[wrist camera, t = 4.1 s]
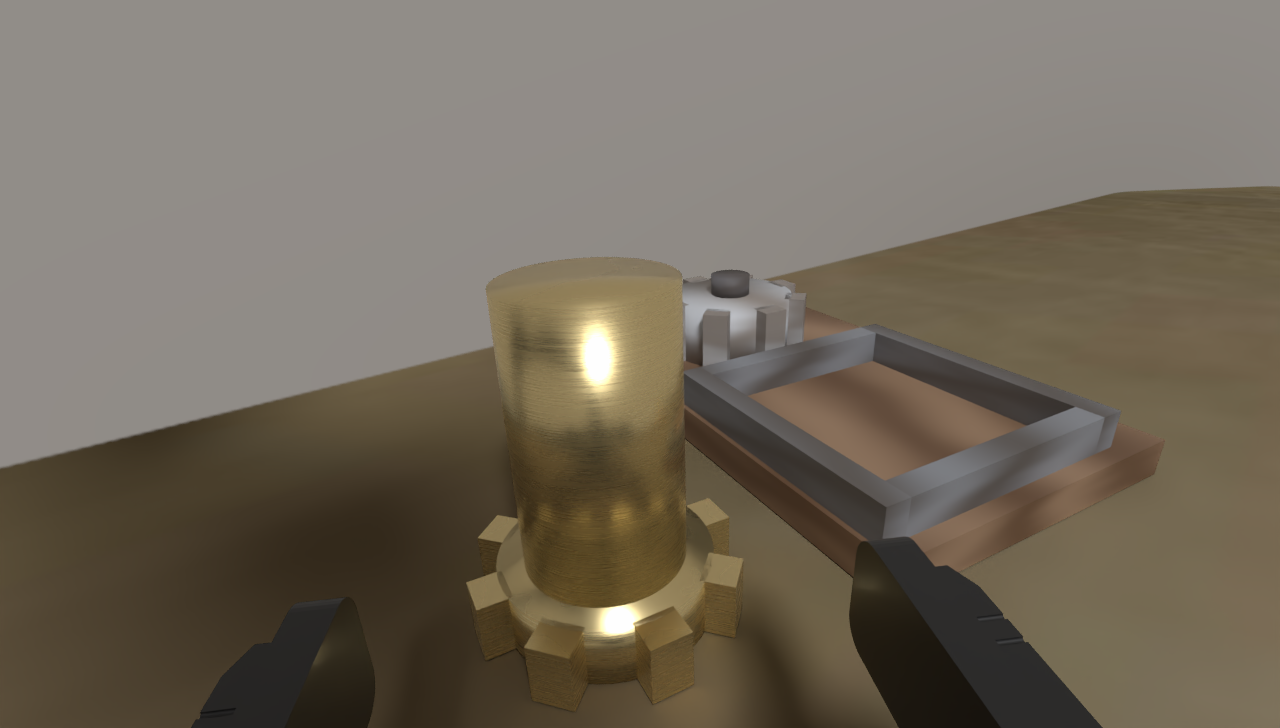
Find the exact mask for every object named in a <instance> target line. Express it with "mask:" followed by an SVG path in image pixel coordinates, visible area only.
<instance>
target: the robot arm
mask: <svg viewBox="0 0 1280 728" xmlns="http://www.w3.org/2000/svg"><path fill="white" fill-rule="evenodd" d="M849 620H850V628H851V633H852V637H853V641H854V643H855V646H856V649H857V651H858V653H859V655H860V657H861V659H862V661H863V663H864V664H865V666H866V668H867V670H868V672H869V674H870V675H871V677H872V679H873V681H874V683H875V685H876V687H877V688H878V690H879V692H880V694H881V696H882V698H883V699H884V701H885V703H886V705H887V707H888V709H889V710H890V712H891V714H892V716H893V718H894V720H895V721H896V723H897V725H898V727H899V728H1102V727H1101V725H1100V724H1099V723H1098V722H1097V721H1096V720H1095V719H1094V717H1093V716H1092V715H1091V714H1090V713H1089V712H1088V711H1087V709H1086V708H1085V707H1084V706H1083V705H1082V704H1081V703H1080V701H1079V700H1078V699H1077V698H1076V697H1075V696H1074V695H1073V693H1072V692H1071V691H1070V690H1069V689H1068V688H1067V687H1066V685H1065V684H1064V683H1063V682H1062V681H1061V680H1060V678H1059V677H1058V676H1057V675H1056V674H1055V673H1054V672H1053V670H1052V669H1051V668H1050V667H1049V666H1048V665H1047V664H1046V662H1045V661H1044V660H1043V659H1042V658H1041V657H1040V656H1039V654H1038V653H1037V652H1036V651H1035V650H1034V649H1033V648H1032V646H1031V645H1030V644H1029V643H1028V642H1026V643H1025V642H1024V640H1023V636H1022V635H1021V634H1020V633H1019V631H1018V630H1017V629H1016V628H1015V627H1014V626H1013V625H1012V623H1011V622H1010V621H1009V620H1008V619H1004V617H1003V613H1002V612H1001V611H1000V610H999V609H998V607H997V606H996V605H995V604H994V603H993V602H992V601H991V599H990V598H989V597H988V596H987V595H986V594H985V593H984V591H983V590H982V589H981V588H980V587H979V586H978V585H976V584H975V583H973V582H972V581H970V580H969V579H967V578H966V577H964V576H963V575H961V574H960V573H958V572H957V571H955V570H954V569H952V568H951V567H949V566H948V565H944V566H936V567H935V566H934V564H933V563H932V562H931V561H930V560H929V558H928V557H927V556H926V555H925V553H924V552H923V551H922V550H921V549H920V547H919V546H918V545H917V544H916V543H915V541H914V540H912V539H911V538H909V537H906V536H904V537H895V538H886V539H877V540H868V541H862V542H861V543H860V544H859V545H858V548H857V552H856V560H855V568H854V577H853V585H852V594H851V602H850V611H849ZM374 695H375V677H374V670H373V666H372V662H371V658H370V655H369V651H368V648H367V644H366V641H365V637H364V633H363V630H362V626H361V623H360V619H359V616H358V612H357V608H356V606H355V603H354V601H353V600H352V599H351V598H349V597H345V598H336V599H327V600H318V601H309V602H300V603H296V604H295V605H293V606H292V607H291V608H290V610H289V611H288V613H287V615H286V617H285V619H284V620H283V622H282V624H281V626H280V628H279V630H278V632H277V633H276V635H275V637H274V639H273V641H272V643H263V644H255V645H254V646H253V647H252V648H251V649H250V650H248V651H247V652H246V653H245V654H244V655H243V656H242V657H241V658H240V659H239V660H238V661H237V662H236V663H235V664H234V665H233V666H232V667H231V668H230V669H229V670H228V671H227V672H226V673H225V674H224V675H223V676H222V677H221V678H220V680H219V682H218V683H217V685H216V687H215V688H214V690H213V692H212V693H211V695H210V697H209V699H208V700H207V702H206V704H205V705H204V707H203V709H202V710H201V712H200V713H201V715H200V719H197V720H195V722H194V724H193V725H192V727H191V728H367V727H368V723H369V720H370V717H371V713H372V709H373V703H374Z"/></svg>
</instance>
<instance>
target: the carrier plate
mask: <svg viewBox="0 0 1280 728" xmlns="http://www.w3.org/2000/svg"><path fill="white" fill-rule="evenodd" d="M682 295H683V359H684V423H685V438H686V439H687V440H688V441H689V442H690V443H692V444H693V445H694V446H695V447H696V448H698V449H699V450H700V451H701V452H702V453H704V454H705V455H706V456H707V457H708V458H710V459H711V460H712V461H713V462H715V463H716V464H717V465H718V466H719V467H721V468H722V469H723V470H724V471H725V472H727V473H728V474H729V475H730V476H731V477H733V478H734V479H735V480H736V481H737V482H739V483H740V484H741V485H742V486H744V487H745V488H746V489H747V490H748V491H750V492H751V493H752V494H753V495H754V496H756V497H757V498H758V499H759V500H760V501H762V502H763V503H764V504H765V505H766V506H768V507H769V508H770V509H771V510H773V511H774V512H775V513H776V514H777V515H779V516H780V517H781V518H782V519H783V520H785V521H786V522H787V523H788V524H789V525H791V526H792V527H793V528H794V529H795V530H797V531H798V532H799V533H800V534H802V535H803V536H804V537H805V538H806V539H808V540H809V541H810V542H811V543H812V544H814V545H815V546H816V547H817V548H818V549H820V550H821V551H822V552H823V553H824V554H826V555H827V556H828V557H829V558H831V559H832V560H833V561H834V562H835V563H837V564H838V565H839V566H840V567H841V568H843V569H844V570H845V571H846V572H847V573H849V574H850V575H851V576H852V577H854V568H855V560H856V552H857V548H858V545H859V544H860V543H861V542H862V541H868V540H877V539H886V538H895V537H904V536H906V537H909V538H911V539H912V540H914V541H915V543H916V544H917V545H918V546H919V547H920V549H921V550H922V551H923V552H924V553H925V555H926V556H927V557H928V558H929V560H930V561H931V562H932V563H933V564H934V566H935V567H936V566H944V565H948V566H949V567H951V568H952V569H954V570H955V571H957V572H960V571H962V570H964V569H966V568H968V567H970V566H972V565H974V564H976V563H978V562H980V561H982V560H984V559H986V558H988V557H990V556H992V555H994V554H996V553H998V552H1000V551H1002V550H1004V549H1006V548H1008V547H1010V546H1012V545H1014V544H1016V543H1018V542H1020V541H1022V540H1024V539H1026V538H1028V537H1030V536H1031V535H1033V534H1035V533H1037V532H1039V531H1041V530H1043V529H1045V528H1047V527H1049V526H1051V525H1053V524H1055V523H1057V522H1059V521H1061V520H1063V519H1065V518H1067V517H1069V516H1071V515H1073V514H1075V513H1077V512H1079V511H1081V510H1083V509H1085V508H1087V507H1089V506H1091V505H1093V504H1095V503H1097V502H1099V501H1101V500H1103V499H1105V498H1107V497H1109V496H1111V495H1113V494H1115V493H1117V492H1119V491H1121V490H1123V489H1125V488H1127V487H1129V486H1131V485H1133V484H1135V483H1137V482H1139V481H1141V480H1143V479H1145V478H1147V477H1149V476H1151V475H1153V474H1154V473H1155V470H1156V467H1157V464H1158V461H1159V458H1160V455H1161V451H1162V448H1163V445H1164V442H1165V440H1164V439H1161V438H1159V437H1156V436H1153V435H1151V434H1148V433H1145V432H1143V431H1140V430H1137V429H1134V428H1132V427H1129V426H1126V425H1124V424H1121V423H1118V420H1119V417H1120V413H1121V411H1120V410H1117V409H1114V408H1111V407H1109V406H1106V405H1103V404H1100V403H1097V402H1095V401H1092V400H1089V399H1086V398H1083V397H1080V396H1078V395H1075V394H1072V393H1069V392H1066V391H1063V390H1061V389H1058V388H1055V387H1052V386H1049V385H1046V384H1044V383H1041V382H1038V381H1035V380H1032V379H1030V378H1027V377H1024V376H1021V375H1018V374H1015V373H1013V372H1010V371H1007V370H1004V369H1001V368H998V367H996V366H993V365H990V364H987V363H984V362H982V361H979V360H976V359H973V358H970V357H967V356H965V355H962V354H959V353H956V352H953V351H950V350H948V349H945V348H942V347H939V346H936V345H933V344H931V343H928V342H925V341H922V340H919V339H917V338H914V337H911V336H908V335H905V334H902V333H900V332H897V331H894V330H891V329H888V328H885V327H883V326H880V325H877V324H873V325H869V326H865V327H858V326H856V325H853V324H850V323H848V322H845V321H842V320H839V319H837V318H834V317H831V316H829V315H826V314H823V313H820V312H818V311H815V310H812V309H810V308H807V307H806V293H795V284H794V283H791V282H788V281H785V280H782V279H781V280H776V281H771V282H770V281H766V280H760V279H752V275H750V274H749V273H747V272H745V271H740V270H723V271H717V272H714V273H712V274H711V279H707V278H704V277H702V276H699V277H693V278H687V279H683V284H682Z"/></svg>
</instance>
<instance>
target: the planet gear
mask: <svg viewBox="0 0 1280 728" xmlns="http://www.w3.org/2000/svg"><path fill="white" fill-rule="evenodd" d="M486 294H487V302H488V308H489V315H490V323H491V330H492V337H493V344H494V351H495V358H496V365H497V373H498V380H499V387H500V394H501V401H502V408H503V415H504V422H505V429H506V436H507V444H508V451H509V458H510V465H511V472H512V479H513V486H514V493H515V500H516V507H517V515H518V519H517V518H511V517H506V516H500V515H497V516H496V517H495V519H494V520H493V521H492V522H491V523H490V524H489V526H488V527H487V528H486V529H485V530H484V531H483V532H482V534H481V535H480V536H479V537H478V542H479V548H480V554H481V560H482V565H483V571H484V576H483V577H481V578H478V579H475V580H472V581H469V582H466V584H467V589H468V594H469V600H470V605H471V610H472V615H473V621H474V626H475V631H476V634H477V637H478V640H479V643H480V646H481V649H482V652H483V655H484V658H485V661H487V660H489V659H492V658H494V657H497V656H499V655H502V654H504V653H507V652H509V651H512V650H514V649H517V650H518V652H519V653H520V654H521V655H522V656H523V657H524V658H525V659H526V664H527V671H528V677H529V684H530V691H531V697H532V700H533V701H536V702H540V703H544V704H547V705H551V706H555V707H558V708H562V709H565V710H569V711H573V712H575V711H576V709H577V707H578V705H579V703H580V700H581V698H582V696H583V694H584V692H585V690H586V688H587V685H588V684H614V683H620V682H627V681H631V680H635V679H638V681H639V682H640V684H641V686H642V687H643V689H644V690H645V692H646V694H647V695H648V697H649V699H650V700H651V702H652V704H655V703H657V702H659V701H661V700H663V699H665V698H667V697H669V696H671V695H673V694H676V693H678V692H680V691H682V690H684V689H686V688H688V687H690V686H692V685H694V659H693V647H694V645H695V644H696V643H697V642H698V641H699V639H700V638H701V637H702V635H703V633H704V632H710V633H715V634H719V635H724V636H728V637H733V638H735V635H736V631H737V626H738V622H739V618H740V614H741V609H742V589H743V559H742V558H737V557H731V556H728V554H729V517H728V516H727V515H726V514H725V513H724V512H723V511H722V510H721V509H720V508H719V507H717V506H716V505H715V504H714V503H713V502H712V501H711V500H710V499H709V498H707V499H705V500H702V501H699V502H696V503H693V504H690V505H687V506H686V486H685V423H684V359H683V295H682V274H681V273H680V271H679V270H677V269H676V268H674V267H672V266H670V265H667V264H663V263H660V262H656V261H651V260H644V259H635V258H620V257H592V258H576V259H565V260H558V261H550V262H544V263H539V264H534V265H529V266H525V267H521V268H518V269H515V270H512V271H509V272H506V273H504V274H502V275H499V276H497V277H496V278H494V279H493V280H492V281H490V282H489V283H488V284H487V286H486Z"/></svg>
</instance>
